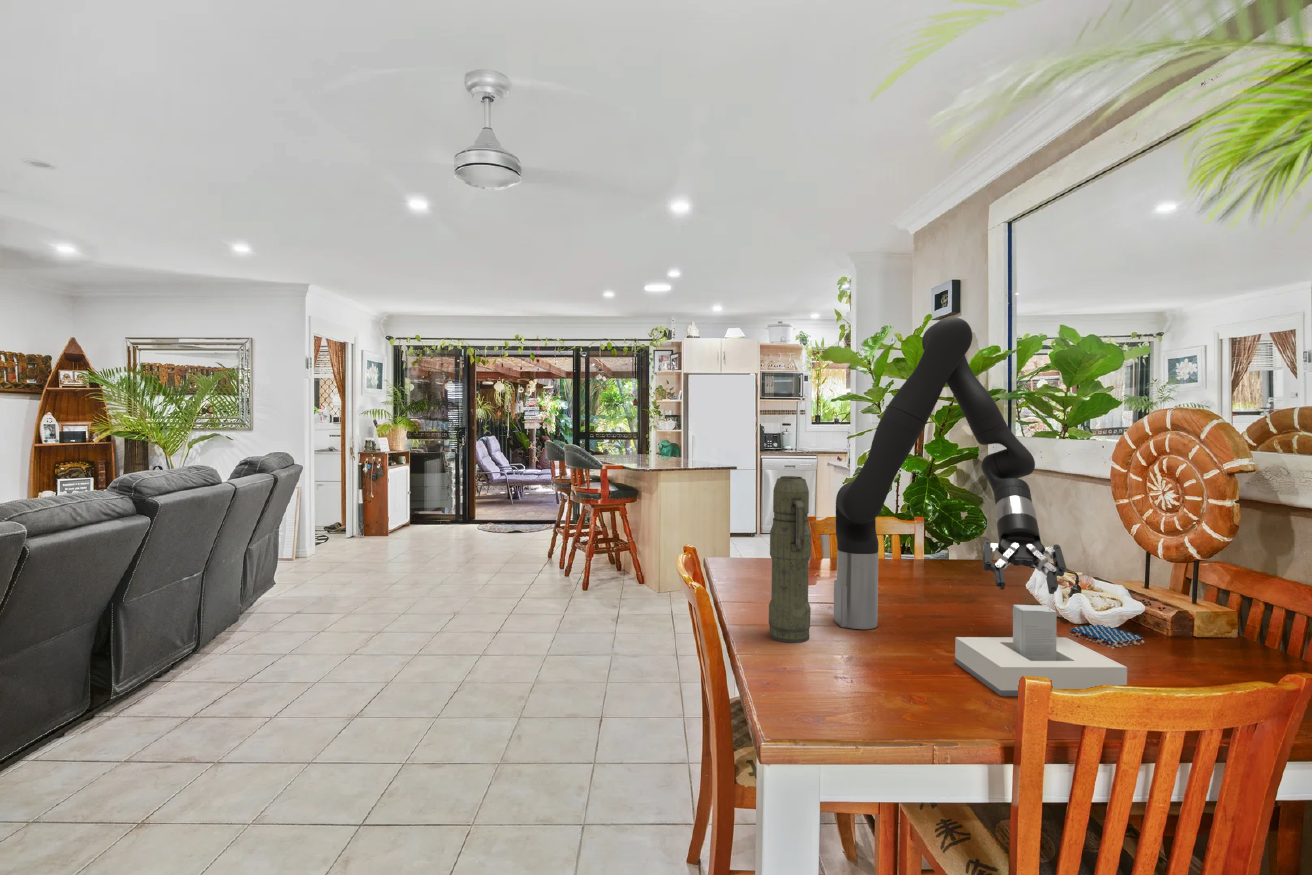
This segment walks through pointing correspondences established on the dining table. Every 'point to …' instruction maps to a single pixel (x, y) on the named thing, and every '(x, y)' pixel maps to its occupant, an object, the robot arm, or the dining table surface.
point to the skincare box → (1035, 632)
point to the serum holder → (1035, 665)
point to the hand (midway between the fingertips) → (1027, 589)
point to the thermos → (790, 561)
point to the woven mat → (1106, 636)
